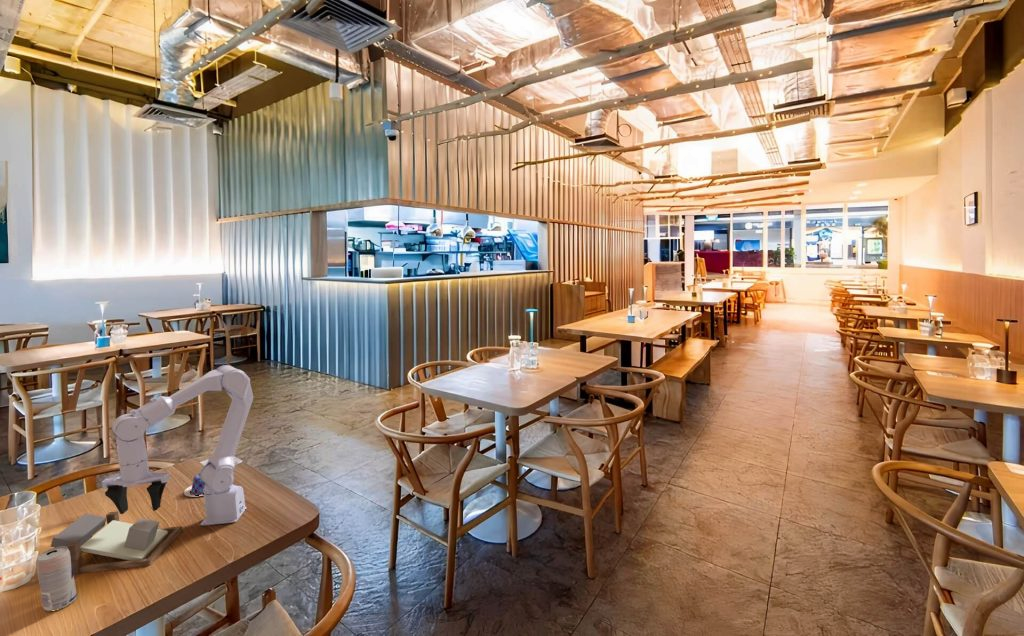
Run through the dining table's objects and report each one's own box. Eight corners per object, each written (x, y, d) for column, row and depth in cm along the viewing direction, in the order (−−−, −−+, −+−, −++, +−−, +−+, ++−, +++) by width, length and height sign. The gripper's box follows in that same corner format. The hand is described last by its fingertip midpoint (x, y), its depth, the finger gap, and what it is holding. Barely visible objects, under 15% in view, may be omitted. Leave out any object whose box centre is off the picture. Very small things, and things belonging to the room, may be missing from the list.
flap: (166, 536, 130) (168, 528, 130) (139, 564, 118) (142, 556, 118) (85, 520, 126) (87, 512, 126) (48, 547, 114) (51, 538, 114)
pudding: (182, 488, 156) (180, 473, 156) (223, 477, 164) (222, 463, 163) (186, 502, 147) (184, 487, 146) (230, 490, 155) (228, 474, 154)
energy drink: (74, 591, 108) (66, 542, 106) (79, 601, 105) (71, 551, 103) (42, 605, 104) (33, 554, 102) (45, 616, 101) (36, 564, 99)
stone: (154, 540, 125) (159, 521, 124) (143, 551, 120) (149, 531, 120) (135, 536, 124) (140, 517, 123) (123, 547, 119) (129, 527, 119)
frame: (183, 529, 132) (179, 505, 131) (149, 565, 117) (145, 538, 116) (88, 539, 128) (84, 514, 127) (40, 577, 113) (36, 550, 112)
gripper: (90, 470, 117) (98, 522, 118) (155, 464, 119) (162, 515, 121) (109, 458, 123) (116, 507, 125) (170, 453, 126) (177, 501, 128)
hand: (140, 510), depth 124 cm, fingers open, 7 cm apart
